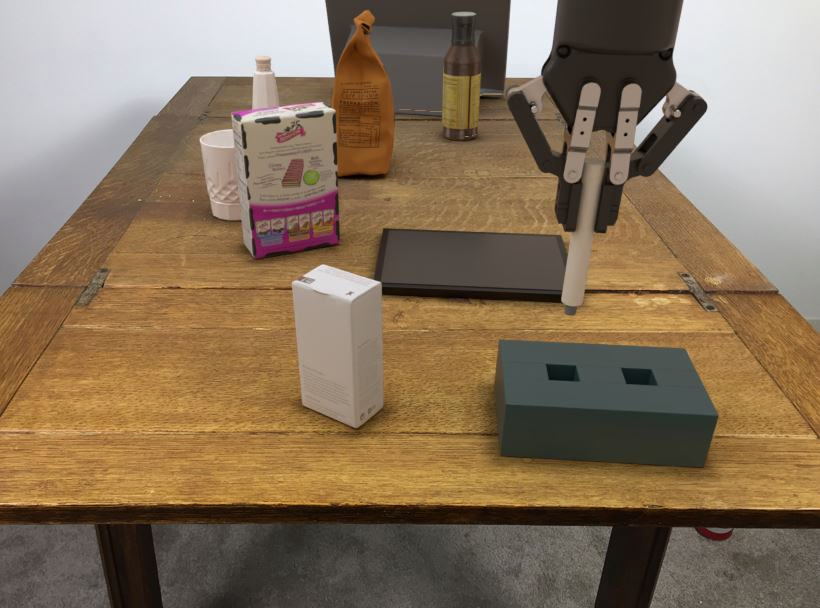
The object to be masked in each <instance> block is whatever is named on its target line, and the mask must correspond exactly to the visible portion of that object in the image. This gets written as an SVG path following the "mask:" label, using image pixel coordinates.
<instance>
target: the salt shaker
mask: <svg viewBox="0 0 820 608" xmlns="http://www.w3.org/2000/svg"><path fill="white" fill-rule="evenodd" d="M254 61H255V69H256V70H255V71H253V73H252V74H253V75H252V76H253V77H252V103H251V105H252V106H251V107H252V108H251V110H254V109H262V108H270V107H279V106H281V105H280V99H279V92H278V85H277V80H276V73H275V71H274V70H272V67H271V66H272V62H271V61H272V57H271V56H268V55H258V56H256V57H255V58H254Z"/></svg>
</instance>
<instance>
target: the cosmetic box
mask: <svg viewBox="0 0 820 608" xmlns="http://www.w3.org/2000/svg"><path fill="white" fill-rule="evenodd" d="M291 291H292V303H293V304H292V305H293V313H294V315H293V316H294V325H295V336H296V347H297V348H296V350H297V360H298V361H297V362H298V370H299V382H300V395H301V405H302V406H303V407H305V408H308V409H310V410H313V411H315V412H317V413H319V414H322V415H324V416H327V417H328V418H331V419H333V420H336V421H338V422H340V423H342V424H344V425H347V426H349V427H352V428H354V429H358V428H359V427H361V426H363V425H364V424H365V423H367V422H368V421H369V420H370V419H371V418H372V417H374V416H375V415H376V414H377V413H379V411H381V410H382V409H383V407H384V404H385V403H384V399H385V398H384V350H383V349H384V348H383V346H384V345H383V294H382V284H381V282H378V281H375V280H374V279H371V278H369V277H365V276H362V275H359V274H355V273H352V272H350V271H346V270H343V269H340V268H337V267H333V266H330V265H327V264H325V263H324V264H321V265H318V266H317V267H315V268H313V269H312V270H310V271H309V272H307V273H304V274H303V275H301V276H300V277H299V278H297V279H295V280H293V281H292V282H291Z"/></svg>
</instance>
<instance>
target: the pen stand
mask: <svg viewBox="0 0 820 608" xmlns="http://www.w3.org/2000/svg"><path fill="white" fill-rule="evenodd" d="M497 344H498V345H497V354H496V363H495V373H494V381H493V382H494V384H493V391H494V405H495V413H496V425H497V436H498V437H497V438H498V447H499V448H498V449H499V456H500V457H515V458H532V459H533V458H534V459H548V460H563V461H564V460H565V461H583V462H600V463H602V462H603V463H618V464H634V465H635V464H637V465H649V466H650V465H652V466H668V467H685V468H686V467H687V468H705V466H706V462H707V458H708V454H709V452H710V448H711V445H712V441H713V437H714V434H715V430H716V427H717V424H718V420H719V416H720V415H719V413H718V411H717V409H716V407H715V405H714V403H713V401H712V398H711V397H710V394H709V393H708V390H707V389H706V386H705V385H704V382H703V381H702V379H701V376H700V374H699V372H698V371H697V369H696V367H695V365H694V363H693V361H692V359H691V357H690V355H689V353H688V351H687V349H686V348H685V347H671V346H670V347H669V346H668V347H667V346H649V345H648V346H647V345H646V346H645V345H629V344H627V345H626V344H607V343H606V344H605V343H587V342H586V343H583V342H566V341H565V342H563V341H543V340H541V341H539V340H524V339H523V340H521V339H505V338H503V339H501V338H500V339H498V343H497Z"/></svg>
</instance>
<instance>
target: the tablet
mask: <svg viewBox="0 0 820 608" xmlns="http://www.w3.org/2000/svg"><path fill="white" fill-rule="evenodd" d="M567 258H568V252H567V248H566V245H565V242H564V239H563V236H562V234H547V233H546V234H545V233H524V232H523V233H521V232H520V233H519V232H495V231H494V232H493V231H469V230H468V231H467V230H444V229H443V230H441V229H417V228H415V229H414V228H390V227H389V228H388V227H383V228H382V232H381V238H380V244H379V249H378V254H377V260H376V265H375V271H374V277H373V280H375V281H378V282H381V284H382V296H383V295H384V296H385V295H386V296H387V295H388V296H409V297H432V298H452V299H453V298H454V299H475V300H477V299H479V300H495V301H496V300H497V301H498V300H499V301H522V302H543V303H545V302H546V303H562V301H561V298H562V291H563V285H564V278H565V271H566V265H567Z"/></svg>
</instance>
